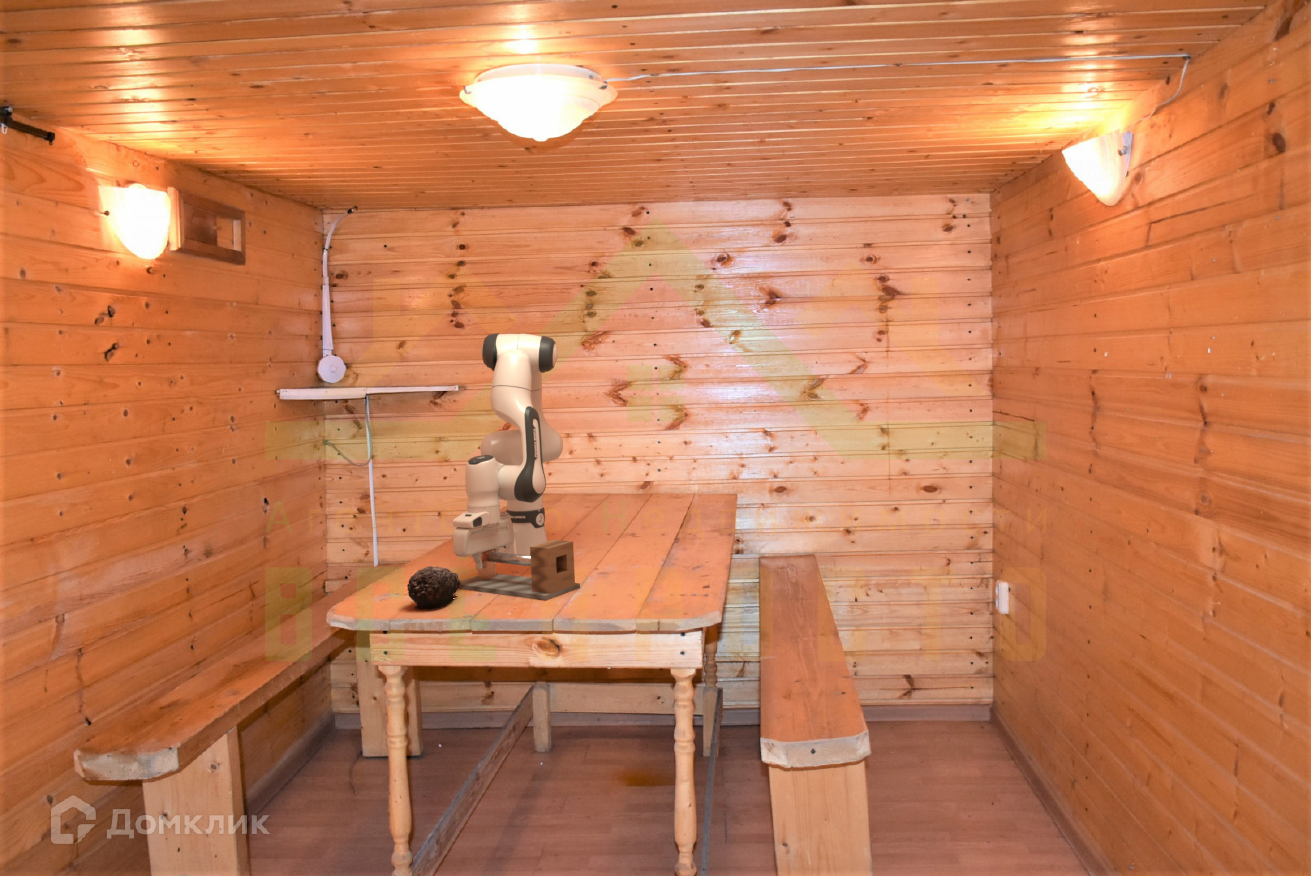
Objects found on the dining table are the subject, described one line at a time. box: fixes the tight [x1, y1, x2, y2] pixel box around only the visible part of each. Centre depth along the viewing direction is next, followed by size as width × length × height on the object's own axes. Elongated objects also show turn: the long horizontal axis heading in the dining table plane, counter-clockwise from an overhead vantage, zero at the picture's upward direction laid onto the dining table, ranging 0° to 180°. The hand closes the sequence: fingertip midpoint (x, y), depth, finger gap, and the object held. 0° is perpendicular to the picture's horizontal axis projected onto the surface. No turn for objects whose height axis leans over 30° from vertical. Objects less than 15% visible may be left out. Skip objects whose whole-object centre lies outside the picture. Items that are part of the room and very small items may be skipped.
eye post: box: [458, 539, 581, 601], centre depth 245 cm, size 32×14×13 cm, turn 57°
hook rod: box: [477, 550, 531, 579], centre depth 245 cm, size 21×3×7 cm, turn 57°
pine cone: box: [406, 566, 462, 611], centre depth 232 cm, size 10×18×10 cm, turn 175°
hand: (486, 567), depth 250 cm, fingers closed on hook rod, 3 cm apart
